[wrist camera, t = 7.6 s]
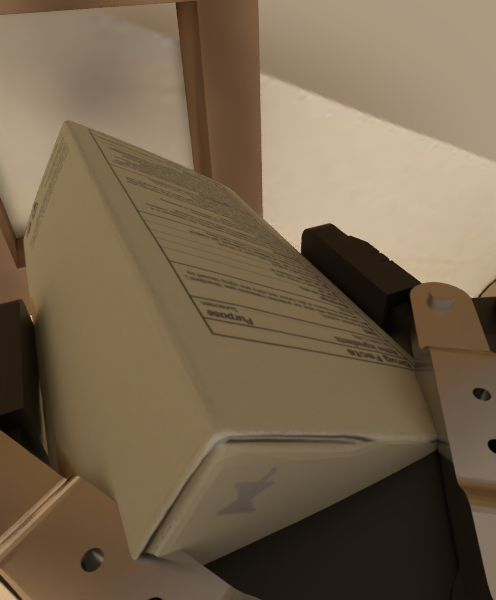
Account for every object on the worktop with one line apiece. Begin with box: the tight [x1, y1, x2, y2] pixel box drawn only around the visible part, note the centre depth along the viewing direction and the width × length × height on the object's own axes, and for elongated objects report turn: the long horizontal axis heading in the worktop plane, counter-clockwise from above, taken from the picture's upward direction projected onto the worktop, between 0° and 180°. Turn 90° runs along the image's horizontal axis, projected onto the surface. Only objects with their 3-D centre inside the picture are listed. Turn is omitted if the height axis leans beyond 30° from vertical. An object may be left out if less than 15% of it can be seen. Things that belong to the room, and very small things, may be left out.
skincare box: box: [23, 121, 438, 565], centre depth 11 cm, size 6×4×12 cm
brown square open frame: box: [0, 0, 263, 315], centre depth 23 cm, size 17×17×4 cm
